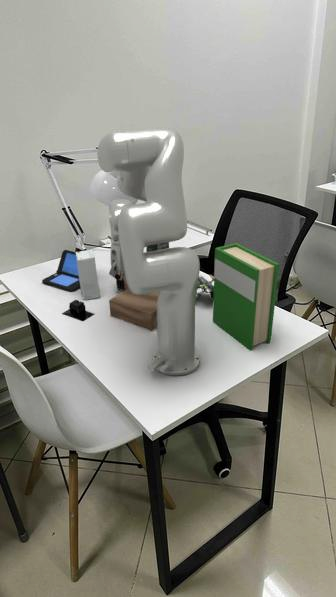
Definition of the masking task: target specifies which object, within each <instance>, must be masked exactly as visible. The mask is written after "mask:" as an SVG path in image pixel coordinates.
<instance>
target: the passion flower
mask: <svg viewBox="0 0 336 597" xmlns="http://www.w3.org/2000/svg"><path fill="white" fill-rule="evenodd" d="M209 277H210V278H211V281H209V280H207V279H206V278H205V277H204V276H202V275H199V277H198V282H197V287H196V296H195V301H197V300H198V299H199V298H200V296H201V295H202V294H204V293H205V294H209V295H210V298H211V300H212V301H213V299H214V284H212V283H214V275H212V274H209ZM198 289H201V291H200V292H197V291H198Z"/></svg>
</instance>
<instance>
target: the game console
mask: <svg viewBox="0 0 336 597" xmlns="http://www.w3.org/2000/svg"><path fill="white" fill-rule="evenodd" d="M76 252H77V251H73V250H68V249H64V250H63V251H62V252H61V256H60V260H59V263H58V266H57V270H56V272H54V273H53V274H51V275H49V276H47V277H45V278H43V279H42V280H41V283H42V284H44V285H47V286H50V287H54V288H57V289H60V290H64V291H67V292H70V293H73V292H76V291H77V290H79V289H81V287H80V281H79V274H78V267H77V259H76Z"/></svg>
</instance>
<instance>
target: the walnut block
mask: <svg viewBox="0 0 336 597" xmlns="http://www.w3.org/2000/svg"><path fill="white" fill-rule="evenodd" d="M160 292H161V291H160ZM160 292H155V293H150V294H144V295H136V294H133V293H132V292H131V291H130V289H127V290H125V291H124V290H123V291H122V292H121V293H119V294H117V295H115V296H114V297H112V298H111V299H109V300H108V303H109V304H108V305H109V312H110V313H109V314H110V317H111V318H114V319H117V320H120V321H122V320H123V322H126V323H128V324H132V325H134V326H137V327H140V328H142V329H145V330H148V331H151V332H152V331H153V330H155V329H157V300H158V297H159V294H160Z"/></svg>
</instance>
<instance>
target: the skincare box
mask: <svg viewBox="0 0 336 597" xmlns="http://www.w3.org/2000/svg"><path fill="white" fill-rule="evenodd" d="M75 252H76V259H77V267H78V274H79V281H80V287H81V288H80V291H81V295H82V298H83V301H86V300H94V299H100V298H101V295H100V294H101V293H100V288H99V279H98V278H99V277H98V272H97V266H96V258H95V254H94V252H93V250H92V249H88V250H86V249H85V250H81V251H75Z"/></svg>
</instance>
